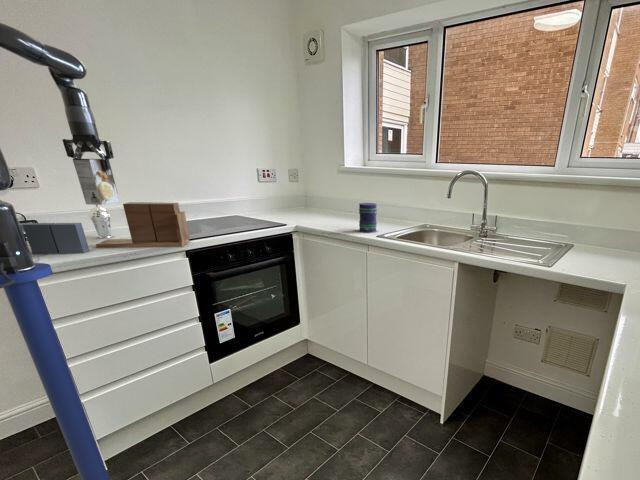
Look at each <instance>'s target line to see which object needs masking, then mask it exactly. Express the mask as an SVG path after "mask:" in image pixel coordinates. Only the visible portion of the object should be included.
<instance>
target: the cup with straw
mask: <svg viewBox="0 0 640 480" xmlns="http://www.w3.org/2000/svg"><path fill="white" fill-rule="evenodd" d="M111 217H112V214H111V213H110V212H109V211H108V210H107V209H106V208H105V207H102V206H99V205H95V206H94V207H92V208H90V209H89V211H88V214H87V218H90V221H91V222H92V224H93V226H94V229H95V231H96V234H97V236H98V237H99V239H111V238H112V237H113V236H112V227H111Z"/></svg>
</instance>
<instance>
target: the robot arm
mask: <svg viewBox="0 0 640 480" xmlns="http://www.w3.org/2000/svg"><path fill="white" fill-rule="evenodd" d="M0 48H1V49H3V50H5V51H7V52H9V53H11V54H13V55H16V56H18V57H20V58H22V59H25V60H26V61H28V62H30V63H33V64H35V65H38V66H41V67H47V70H48V72H49V74H50V76H51V78H52V80H53V82H54V84H55V86H56V87H57V89H58V90H59V93H60V95H61V100H62V103H63V106H64V112H65V113H64V114H65V117H66V120H67V124H68V128H69V131H70V135H71V137H72V138H71V139H67V138H63V139H62V144H63V146H64V150H65V153H66V156H67V157H68V158H72V159H83V155H85V153H95V154H96V155H97V156H98V157H99V159H102V160H101V161H102V165H103V168H104V171H109V169H110V166H111V164H110V165H109V162H110V160H111V159H114V157H115V156H114V152H113V147H112V143H111V141H109V140H101V139H100V137H99V133H98V127H97V125H96V119H95V117H94V114H93V111H92V108H91V104H90V101H89V98H88V97H89V96H88V94H87V92H86V90H84V89H83V88H80V87H78V86H77V84H76V83H75V81H76V80H83V79H85V78H86V76H87V75H88V74H87V73H88V71H87V67H86V66H85V64H84V62H82V60H81V59H79V58H78V57H77V56H75V55H73V54H71V53H70V52H68V51H65V50H62V49H61V48H57V47H55V46H52V45H50V44H47V43H44V42H42V41H40V40H39V39H37V38H35V37H34V36H31V35H29V34H27V33H26V32H24V31H21V30H19V29H17V28H15V27H13V26H11V25H8V24H5V23H3V22H0ZM74 145H75V146H76V147H75V150H74V147H73V146H74ZM101 146H102V147H103V148H104V150H103V149H102V148H101ZM108 160H109V161H108ZM11 176H12V175H11V171H10V168H9V165H8V163H7V160H6V158H5V155H4V153H3V151H2V148H1V147H0V192H1V191H6V190H8V189H9V188H10V186H11V184H12V177H11ZM27 242H28V241H27V239H26V237H25V235H24V230H23V228H22V226H21V224H20V220H19V217H18V214H17V212H16V209H15V206H14V205H13V204H12V203H11V202H8V201H5V200H1V199H0V274H1V275H2V276H3V277H4V278H5V279H6V280H7V281H9V282H7V283H5V284H1V285H0V289H4V288H3V287H7V286H9V285H11V284H13V283H14V282H15V280H13V279H10V278H9V277H8V276H7V275H6V274H16V273H19V272H25V271H29V270H32V269H34V268H36V266H35V264H34V263H35V261H34V260H33V259H34V258H33V256H32V252H31V251H30V248H29V246H28V243H27Z"/></svg>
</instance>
